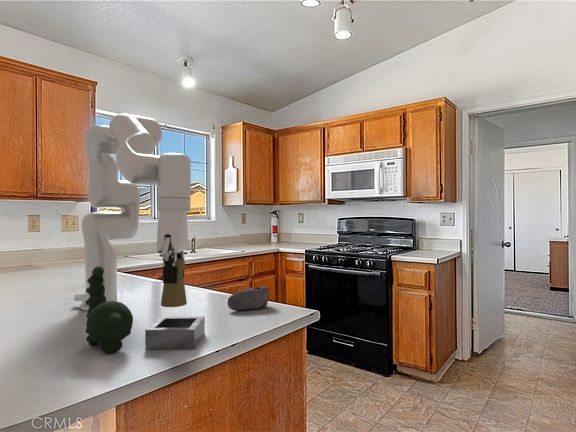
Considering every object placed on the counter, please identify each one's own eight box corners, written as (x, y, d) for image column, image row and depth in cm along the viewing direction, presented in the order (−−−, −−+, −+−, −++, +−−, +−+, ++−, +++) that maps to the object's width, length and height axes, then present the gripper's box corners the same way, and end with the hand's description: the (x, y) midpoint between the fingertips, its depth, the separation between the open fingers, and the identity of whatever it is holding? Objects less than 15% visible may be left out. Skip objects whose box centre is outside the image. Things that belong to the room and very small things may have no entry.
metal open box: (145, 349, 86) (145, 329, 86) (161, 334, 97) (161, 316, 97) (194, 349, 86) (194, 329, 86) (204, 334, 97) (204, 316, 97)
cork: (190, 301, 95) (190, 257, 95) (181, 307, 89) (181, 260, 89) (167, 300, 95) (167, 256, 95) (156, 306, 89) (156, 259, 89)
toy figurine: (75, 343, 96) (94, 364, 76) (74, 267, 97) (91, 269, 77) (115, 335, 102) (142, 354, 82) (113, 264, 103) (139, 265, 83)
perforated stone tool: (230, 314, 117) (230, 291, 117) (224, 310, 122) (224, 288, 122) (274, 308, 124) (274, 287, 124) (267, 305, 129) (267, 284, 129)
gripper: (169, 205, 100) (169, 274, 101) (145, 205, 83) (145, 288, 83) (198, 206, 100) (197, 274, 101) (180, 205, 83) (179, 288, 83)
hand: (173, 280), depth 92 cm, fingers closed on cork, 5 cm apart
